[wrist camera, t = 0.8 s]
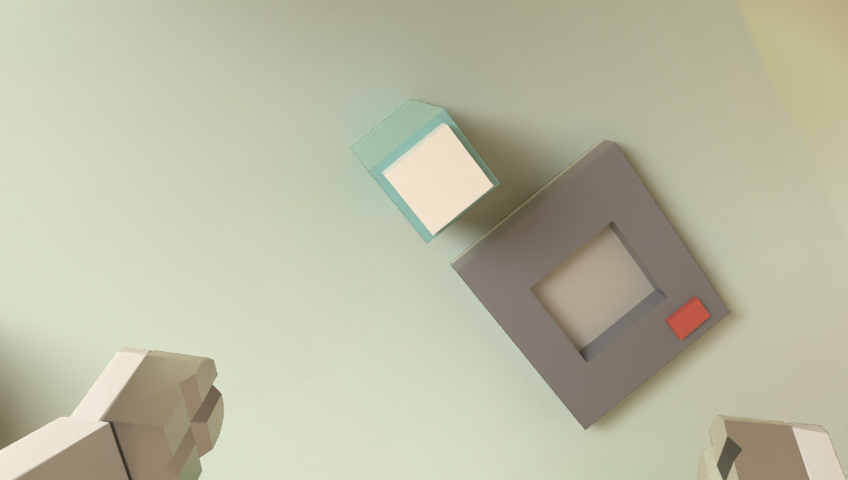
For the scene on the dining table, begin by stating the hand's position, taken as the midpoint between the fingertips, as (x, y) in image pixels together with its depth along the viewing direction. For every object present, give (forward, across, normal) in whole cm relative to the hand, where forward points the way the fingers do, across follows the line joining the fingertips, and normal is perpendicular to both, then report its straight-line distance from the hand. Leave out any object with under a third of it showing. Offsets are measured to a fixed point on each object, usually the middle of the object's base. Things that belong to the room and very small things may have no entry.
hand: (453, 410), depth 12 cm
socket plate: (+30, -6, +19) cm, 36 cm away
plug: (+29, +6, +11) cm, 32 cm away
